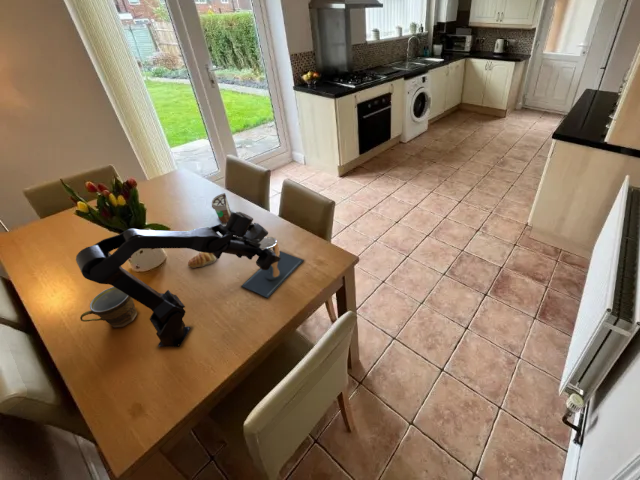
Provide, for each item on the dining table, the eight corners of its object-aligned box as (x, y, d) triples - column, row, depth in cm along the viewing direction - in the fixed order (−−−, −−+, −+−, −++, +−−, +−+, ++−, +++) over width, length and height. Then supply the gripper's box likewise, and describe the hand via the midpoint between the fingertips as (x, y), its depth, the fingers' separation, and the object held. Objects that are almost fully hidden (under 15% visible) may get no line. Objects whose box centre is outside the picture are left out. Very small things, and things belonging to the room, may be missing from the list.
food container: (216, 212, 150) (210, 195, 145) (230, 209, 152) (225, 192, 147) (216, 227, 141) (210, 209, 136) (231, 224, 143) (225, 206, 138)
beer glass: (260, 272, 117) (253, 241, 110) (278, 264, 121) (272, 233, 114) (268, 284, 112) (261, 251, 105) (286, 275, 116) (281, 243, 109)
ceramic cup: (137, 300, 107) (124, 280, 102) (147, 316, 102) (134, 296, 96) (89, 326, 99) (72, 306, 93) (98, 346, 93) (81, 325, 88)
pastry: (191, 272, 118) (187, 265, 116) (187, 262, 122) (184, 255, 120) (217, 261, 123) (214, 254, 121) (213, 252, 127) (210, 245, 125)
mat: (267, 298, 108) (267, 297, 108) (241, 286, 112) (241, 285, 112) (303, 260, 124) (303, 259, 123) (279, 251, 128) (279, 250, 128)
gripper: (264, 235, 97) (299, 244, 110) (234, 212, 107) (269, 223, 120) (246, 268, 96) (283, 273, 109) (218, 241, 106) (254, 249, 119)
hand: (272, 253), depth 114 cm, fingers open, 9 cm apart
